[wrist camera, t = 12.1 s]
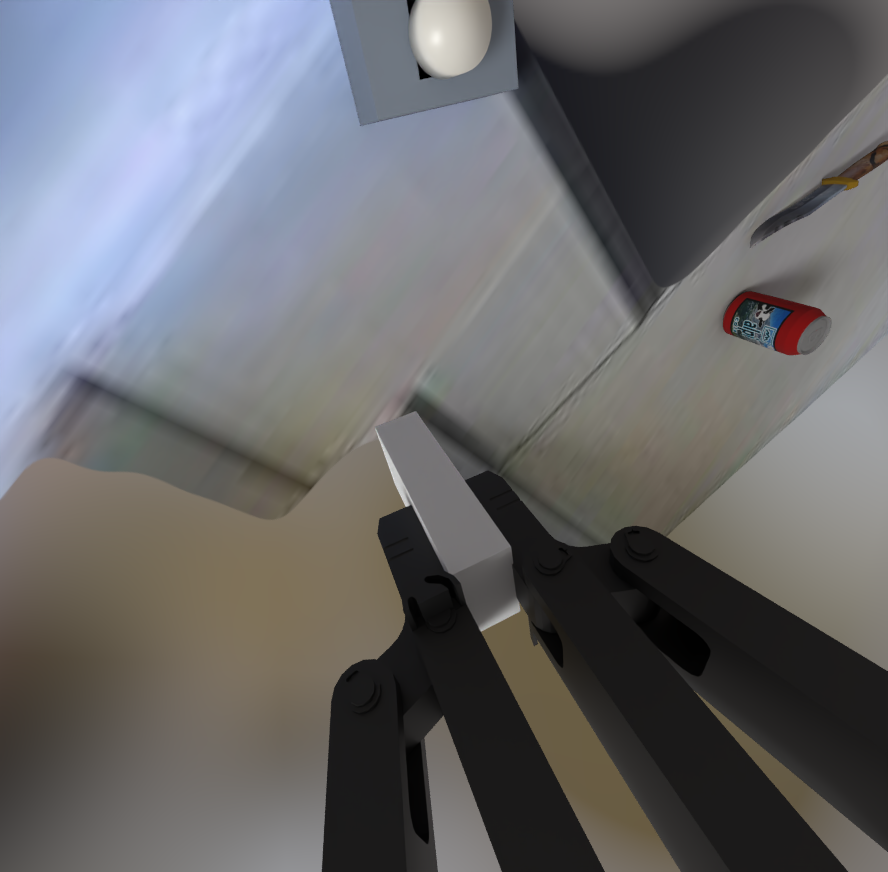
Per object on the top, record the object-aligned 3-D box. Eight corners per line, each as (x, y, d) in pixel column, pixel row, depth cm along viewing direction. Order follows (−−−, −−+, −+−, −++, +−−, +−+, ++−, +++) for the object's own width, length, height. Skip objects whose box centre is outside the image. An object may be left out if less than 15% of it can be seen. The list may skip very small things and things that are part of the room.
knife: (733, 249, 60) (767, 256, 56) (733, 241, 59) (768, 246, 55) (873, 144, 60) (917, 143, 56) (874, 133, 59) (919, 132, 55)
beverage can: (720, 301, 64) (801, 325, 55) (755, 282, 65) (841, 302, 56) (716, 339, 69) (791, 367, 59) (749, 321, 69) (828, 346, 60)
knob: (396, 94, 35) (431, 79, 29) (380, 11, 32) (415, -25, 26) (450, 82, 36) (495, 65, 30) (439, 1, 33) (487, -36, 27)
